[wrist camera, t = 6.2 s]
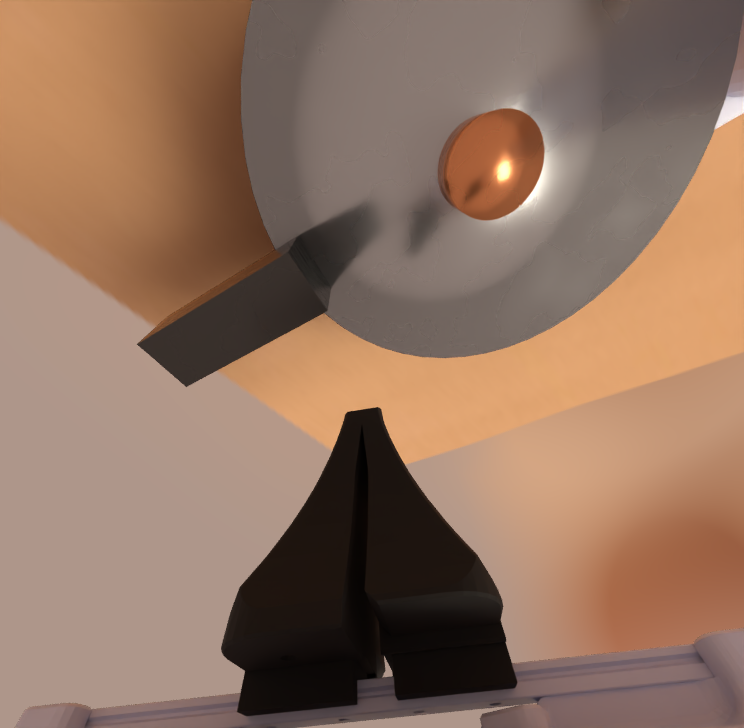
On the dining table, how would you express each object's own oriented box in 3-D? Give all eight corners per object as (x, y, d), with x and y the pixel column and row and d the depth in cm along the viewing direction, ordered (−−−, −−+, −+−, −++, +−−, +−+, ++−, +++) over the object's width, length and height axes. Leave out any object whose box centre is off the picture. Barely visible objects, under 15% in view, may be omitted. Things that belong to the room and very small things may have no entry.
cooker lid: (750, -533, 6) (1109, -1149, 3) (696, 250, 14) (779, 275, 12) (20, 147, 11) (-92, 146, 8) (297, 428, 20) (288, 475, 17)
